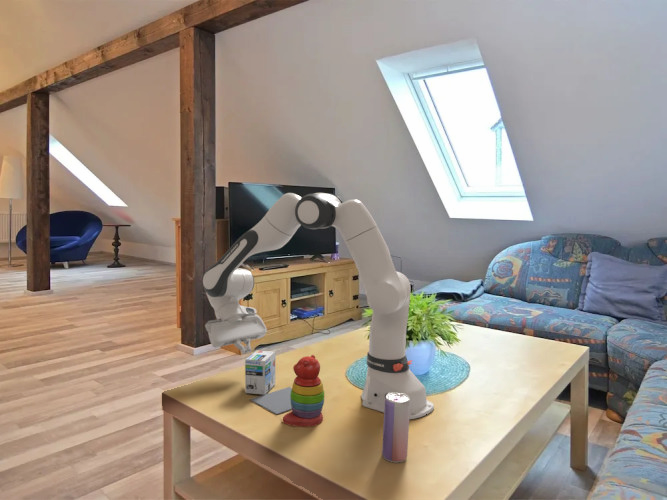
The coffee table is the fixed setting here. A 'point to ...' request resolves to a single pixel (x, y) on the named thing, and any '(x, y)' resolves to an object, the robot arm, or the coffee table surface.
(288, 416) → the stacking bear
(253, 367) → the light bulb box
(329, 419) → the coffee table surface
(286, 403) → the mat
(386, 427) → the beverage can
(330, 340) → the coffee table surface
